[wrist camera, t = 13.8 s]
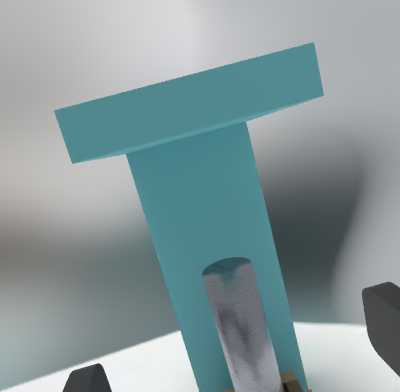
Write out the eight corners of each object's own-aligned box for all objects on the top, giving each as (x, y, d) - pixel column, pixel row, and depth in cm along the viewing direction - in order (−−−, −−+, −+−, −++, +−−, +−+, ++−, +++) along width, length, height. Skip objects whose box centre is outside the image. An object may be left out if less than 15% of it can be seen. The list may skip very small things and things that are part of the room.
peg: (263, 493, 21) (204, 287, 18) (251, 446, 25) (199, 265, 22) (309, 478, 21) (258, 271, 19) (291, 433, 25) (245, 252, 22)
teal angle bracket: (235, 638, 16) (54, 110, 11) (206, 402, 31) (122, 130, 26) (412, 578, 16) (313, 42, 11) (299, 374, 31) (235, 100, 26)
